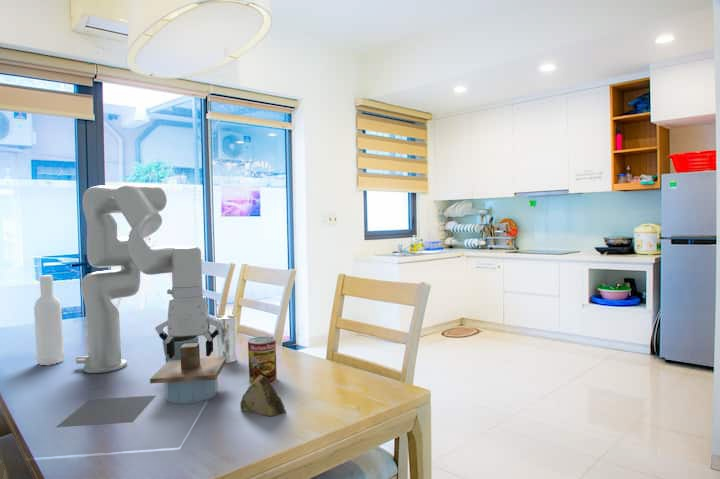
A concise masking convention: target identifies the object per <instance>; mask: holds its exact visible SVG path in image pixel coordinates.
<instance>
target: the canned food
mask: <svg viewBox="0 0 720 479" xmlns="http://www.w3.org/2000/svg"><path fill="white" fill-rule="evenodd" d="M276 346H277V342H276V338H275V337H273V336H257V337H253V338H249V339H248V340H247V353H248V379H249V380H248V381H249V383H250V385H251V384H252V383H253V382H254V381H255V379H256V378H257V377H258V376H259V375H262V376H265V377H266V379H267V380H268V381H269V382H270V384H273V383H275V382H277V380H278V375H277V374H278V372H277V348H276Z"/></svg>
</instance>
